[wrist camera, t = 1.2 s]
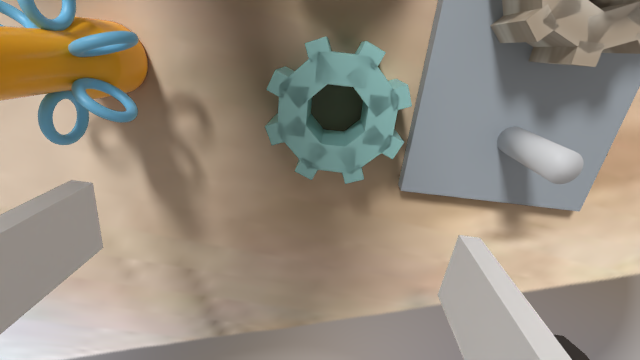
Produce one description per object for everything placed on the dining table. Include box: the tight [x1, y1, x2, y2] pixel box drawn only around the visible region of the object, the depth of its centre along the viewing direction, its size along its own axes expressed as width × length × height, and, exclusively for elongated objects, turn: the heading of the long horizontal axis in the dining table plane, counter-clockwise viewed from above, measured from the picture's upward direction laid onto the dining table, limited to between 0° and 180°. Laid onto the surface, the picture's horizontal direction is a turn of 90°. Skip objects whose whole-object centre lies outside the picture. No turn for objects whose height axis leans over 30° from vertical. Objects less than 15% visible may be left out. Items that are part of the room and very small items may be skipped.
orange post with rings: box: [0, 0, 148, 145], centre depth 21 cm, size 12×10×15 cm
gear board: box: [398, 0, 640, 211], centre depth 23 cm, size 24×17×8 cm
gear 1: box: [265, 37, 412, 184], centre depth 26 cm, size 11×11×5 cm
